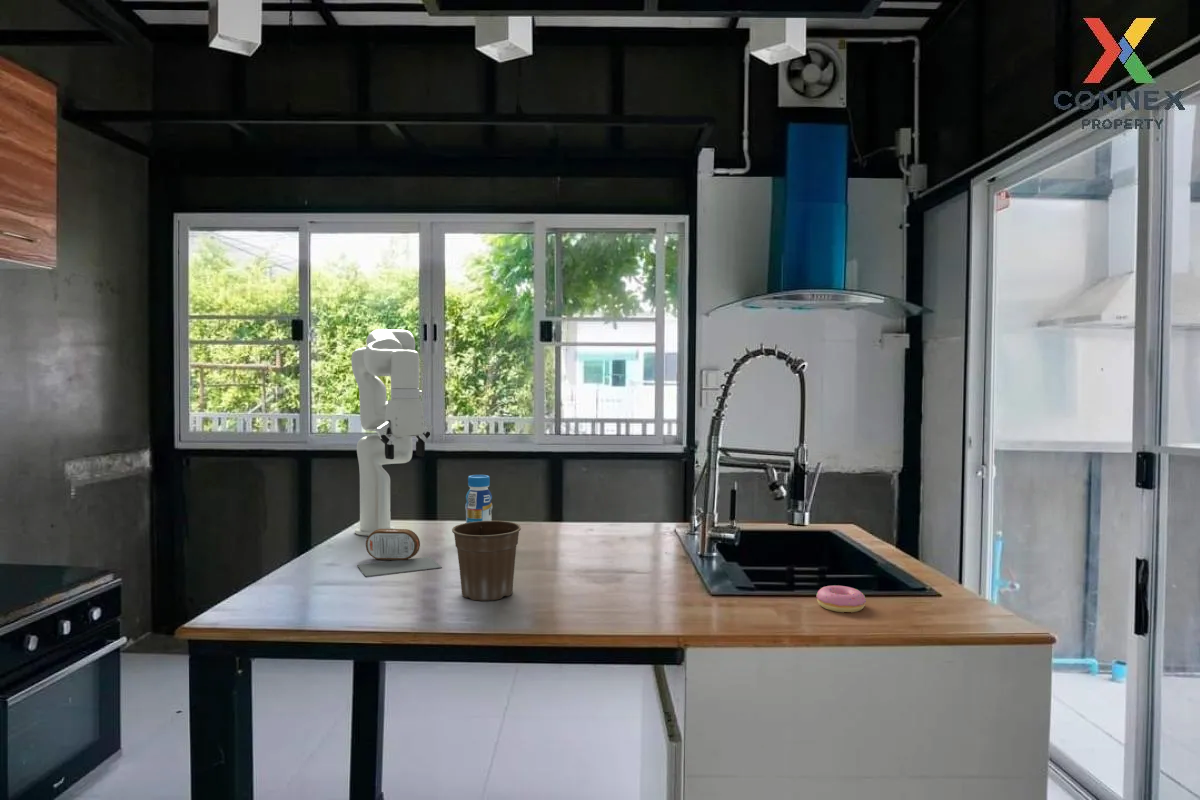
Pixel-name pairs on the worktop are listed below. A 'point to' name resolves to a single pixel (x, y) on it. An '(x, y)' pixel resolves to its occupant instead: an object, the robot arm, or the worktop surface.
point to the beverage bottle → (478, 499)
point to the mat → (398, 566)
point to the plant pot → (486, 558)
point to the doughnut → (841, 598)
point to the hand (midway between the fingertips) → (405, 457)
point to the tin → (392, 544)
